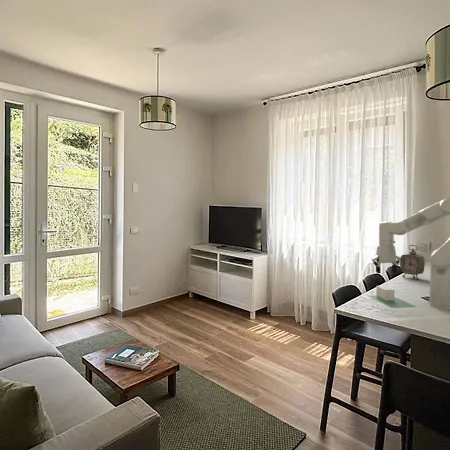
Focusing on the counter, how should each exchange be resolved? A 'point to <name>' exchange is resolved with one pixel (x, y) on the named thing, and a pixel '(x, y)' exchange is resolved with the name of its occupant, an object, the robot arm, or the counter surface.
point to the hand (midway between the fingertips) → (386, 272)
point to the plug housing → (385, 293)
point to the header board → (393, 302)
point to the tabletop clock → (412, 263)
